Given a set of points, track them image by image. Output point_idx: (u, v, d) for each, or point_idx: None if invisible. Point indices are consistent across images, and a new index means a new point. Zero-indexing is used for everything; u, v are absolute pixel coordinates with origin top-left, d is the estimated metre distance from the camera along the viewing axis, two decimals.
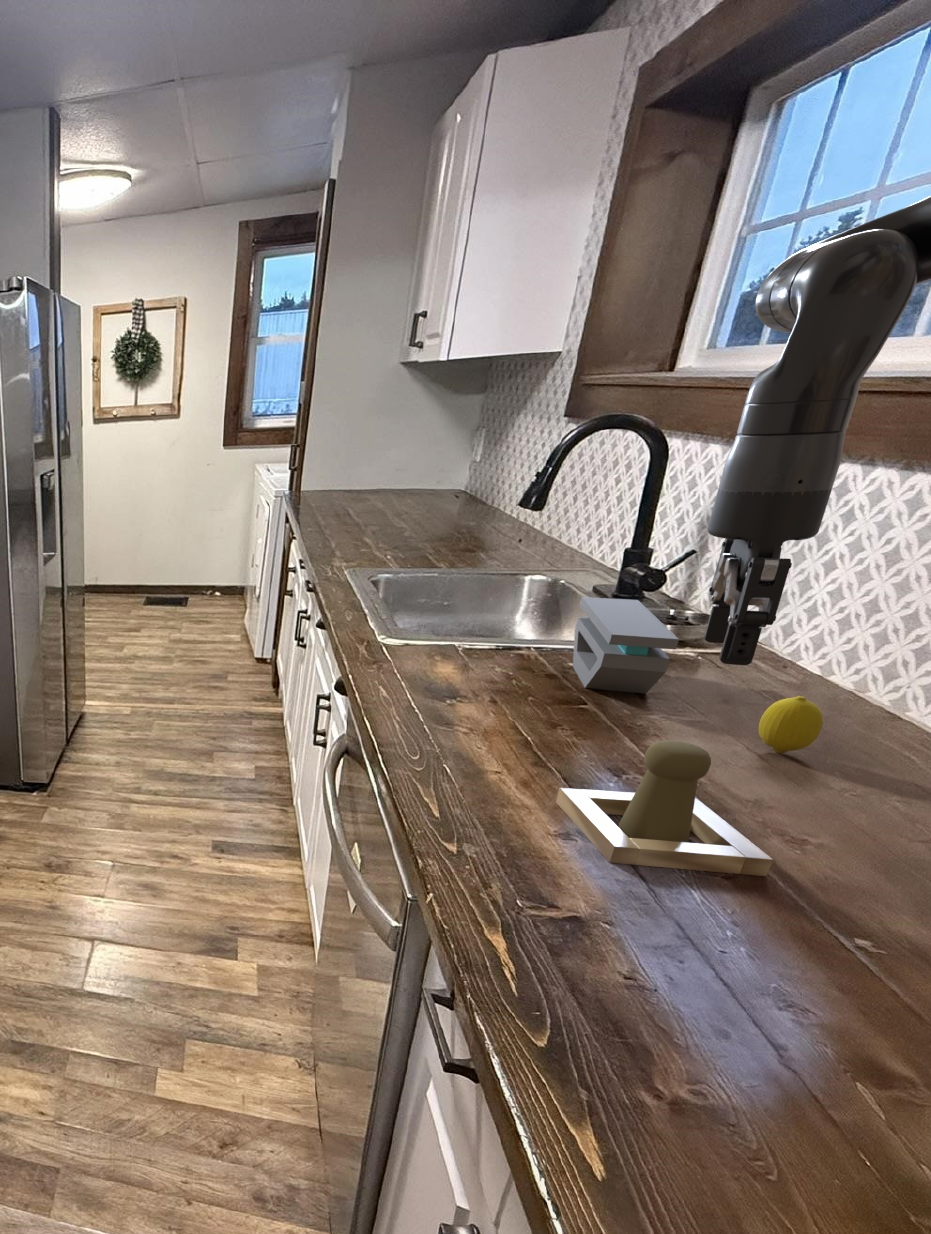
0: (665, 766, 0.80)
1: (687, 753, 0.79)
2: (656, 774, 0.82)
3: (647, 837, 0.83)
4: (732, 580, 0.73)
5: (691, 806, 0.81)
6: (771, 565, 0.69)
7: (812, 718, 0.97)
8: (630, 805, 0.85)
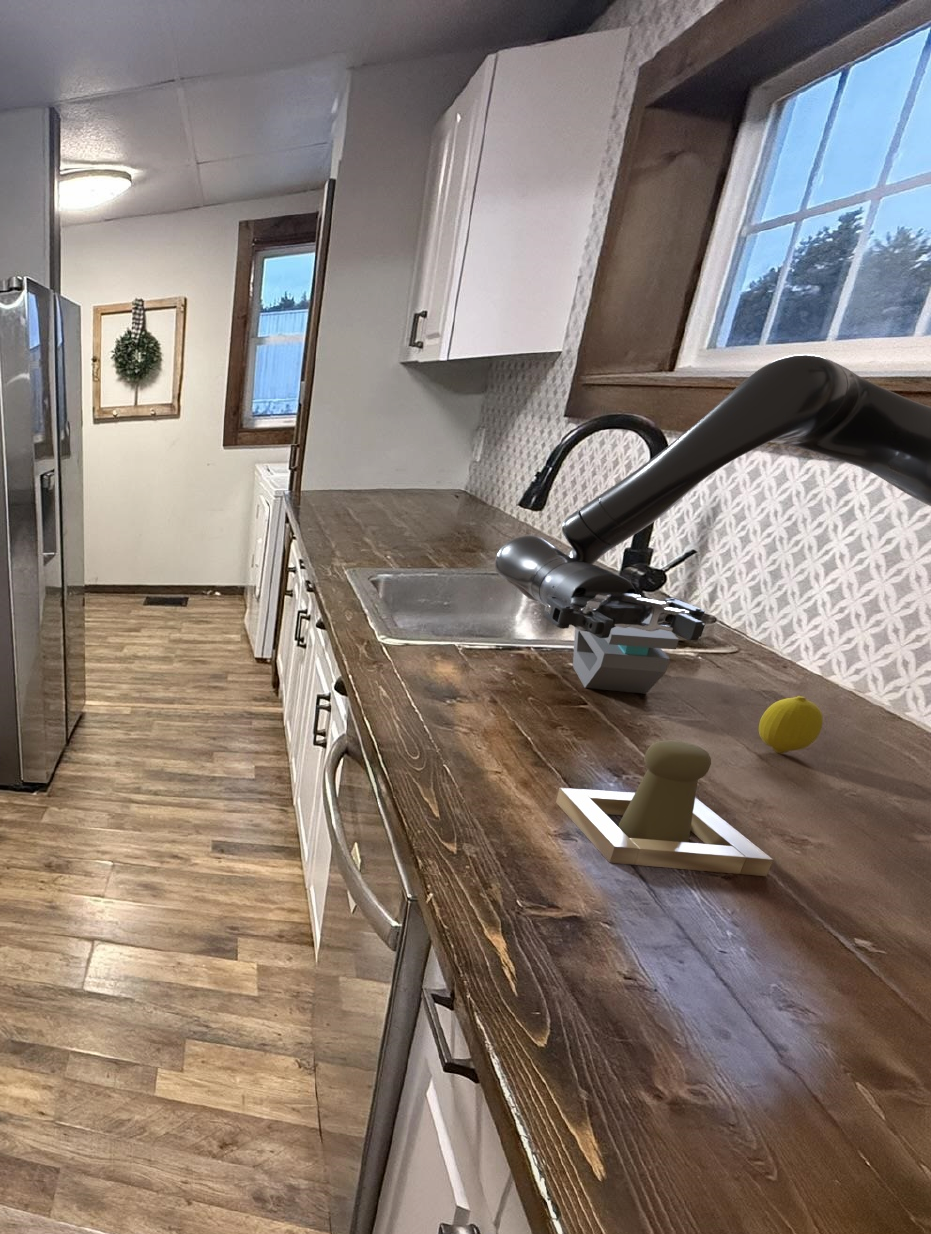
0: (665, 766, 0.80)
1: (687, 753, 0.79)
2: (656, 774, 0.82)
3: (647, 837, 0.83)
4: None
5: (691, 806, 0.81)
6: (545, 606, 0.97)
7: (812, 718, 0.97)
8: (630, 805, 0.85)
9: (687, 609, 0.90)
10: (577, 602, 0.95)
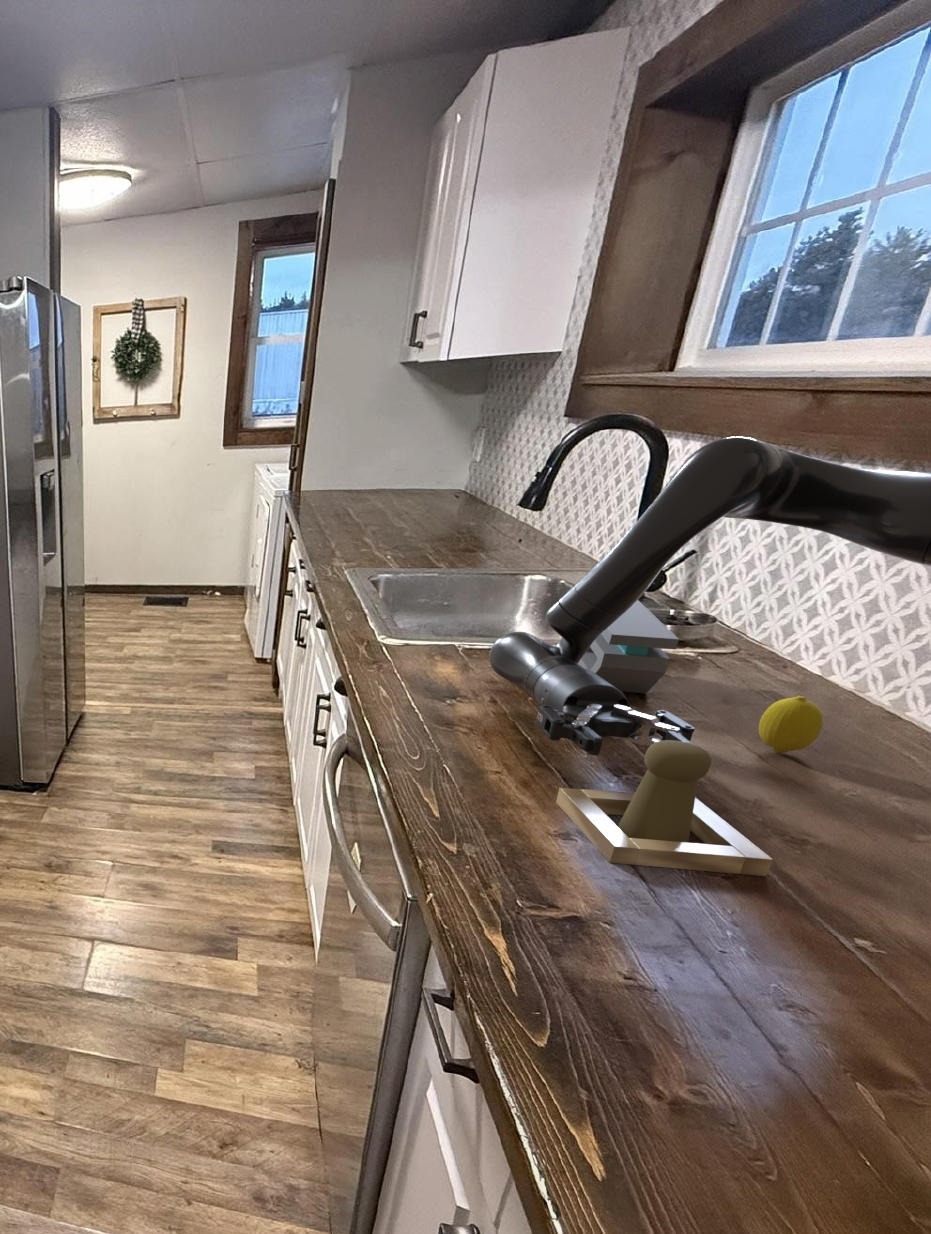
0: (665, 766, 0.80)
1: (687, 753, 0.79)
2: (656, 774, 0.82)
3: (647, 837, 0.83)
4: None
5: (691, 806, 0.81)
6: None
7: (812, 718, 0.97)
8: (630, 805, 0.85)
9: (678, 725, 0.91)
10: (569, 712, 0.96)
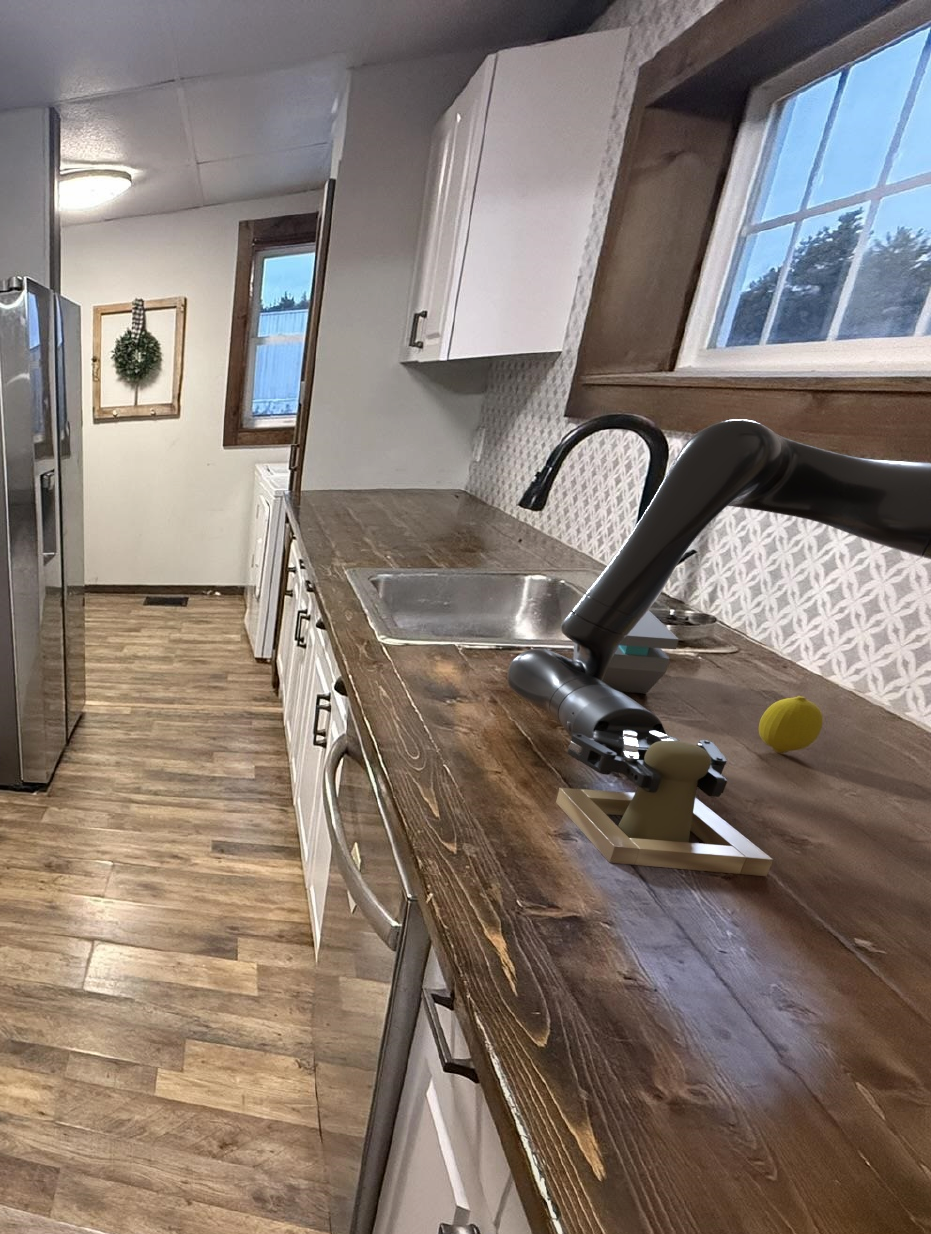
0: (665, 766, 0.80)
1: (687, 753, 0.79)
2: None
3: (647, 837, 0.83)
4: None
5: (691, 806, 0.81)
6: (570, 744, 0.90)
7: (812, 718, 0.97)
8: (630, 805, 0.85)
9: None
10: (600, 738, 0.89)
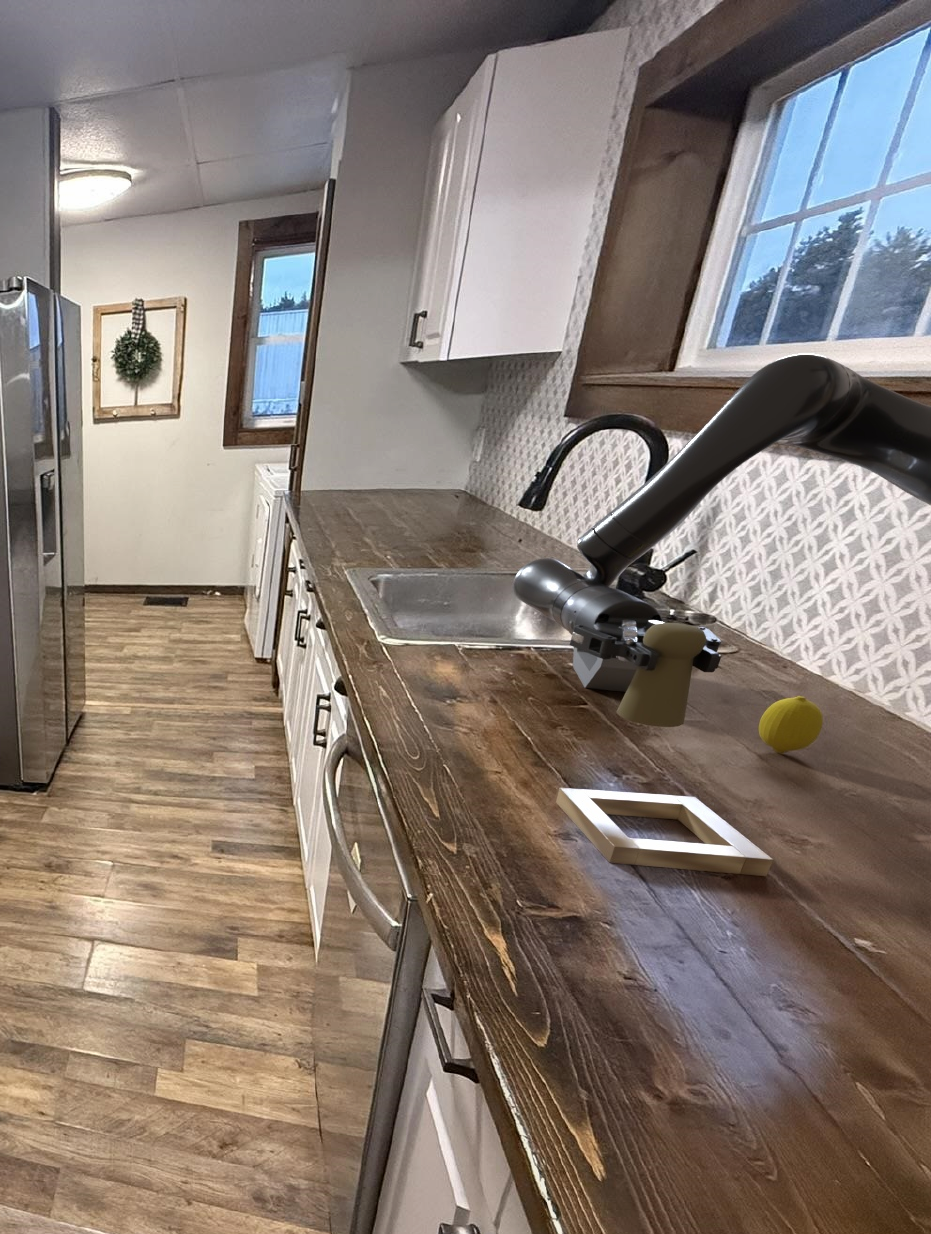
0: (662, 645, 0.85)
1: (683, 631, 0.84)
2: None
3: (645, 715, 0.87)
4: None
5: (687, 683, 0.86)
6: (573, 635, 0.94)
7: (812, 718, 0.97)
8: (629, 687, 0.89)
9: None
10: (601, 629, 0.93)
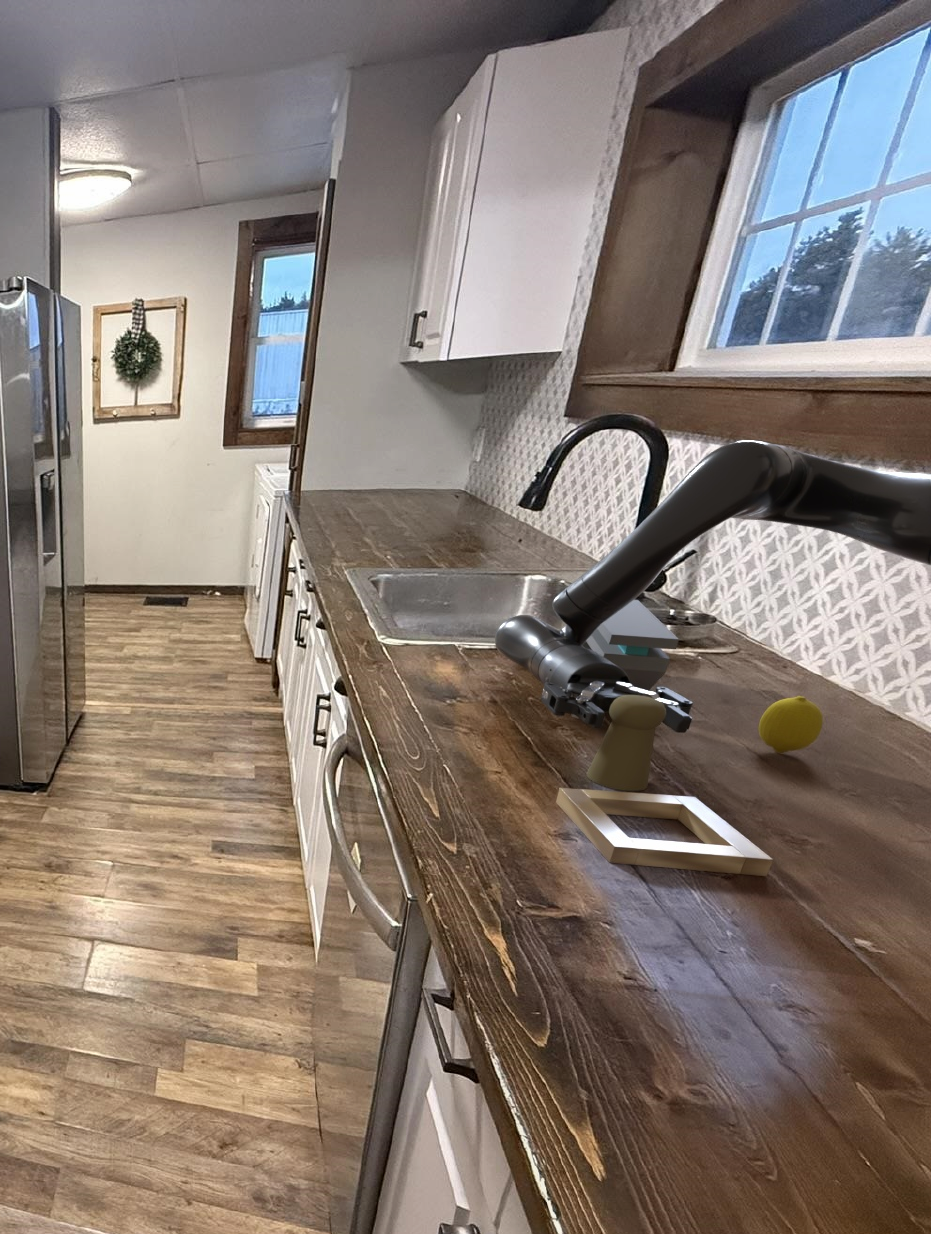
0: (626, 716, 0.92)
1: (645, 705, 0.91)
2: (618, 724, 0.94)
3: (611, 780, 0.95)
4: None
5: (649, 751, 0.93)
6: (543, 692, 1.03)
7: (812, 718, 0.97)
8: (597, 753, 0.97)
9: (676, 700, 0.95)
10: (573, 689, 1.01)
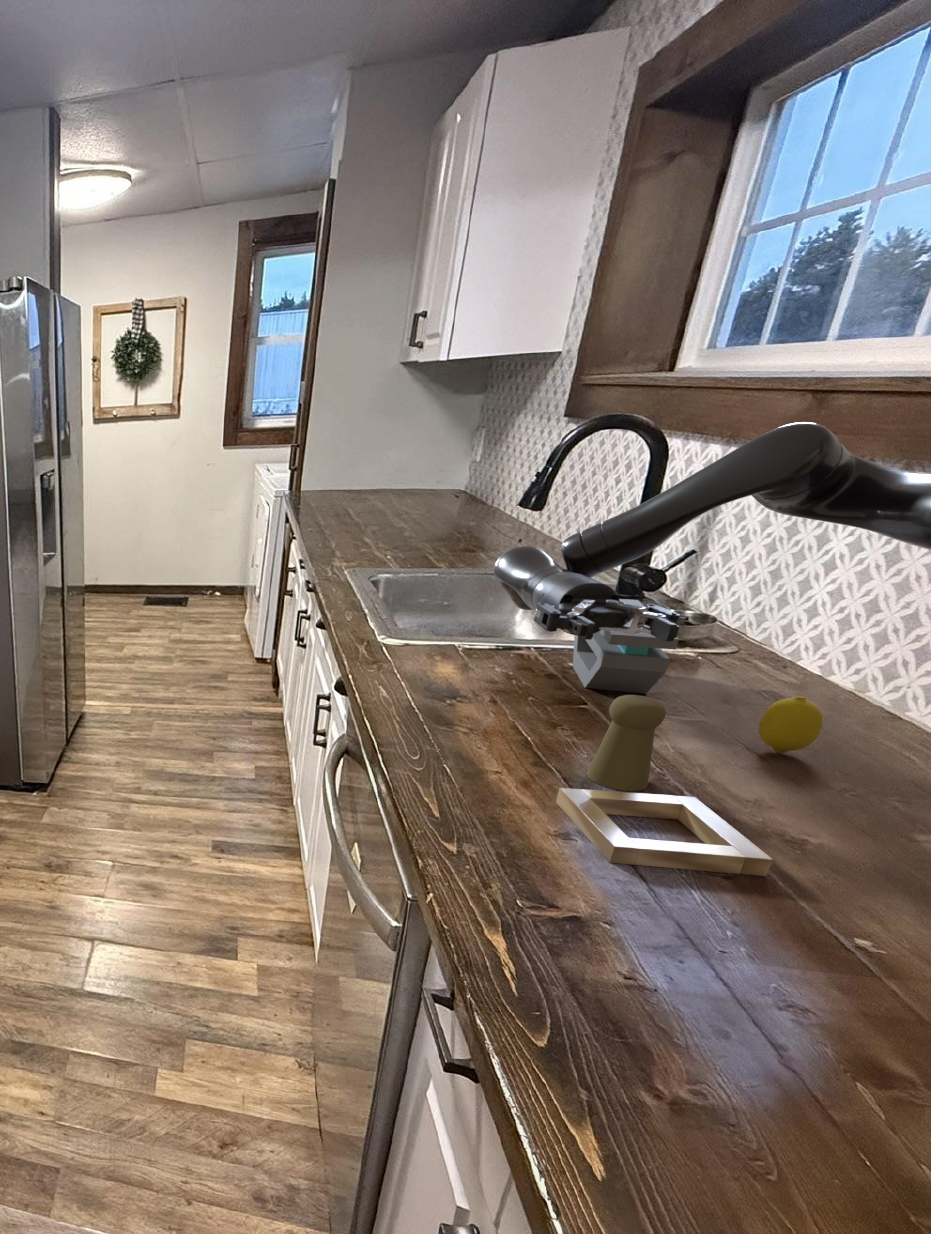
0: (626, 716, 0.92)
1: (645, 705, 0.91)
2: (618, 724, 0.94)
3: (611, 780, 0.95)
4: None
5: (649, 751, 0.93)
6: (535, 612, 1.06)
7: (812, 718, 0.97)
8: (597, 753, 0.97)
9: (664, 613, 0.99)
10: (565, 607, 1.04)
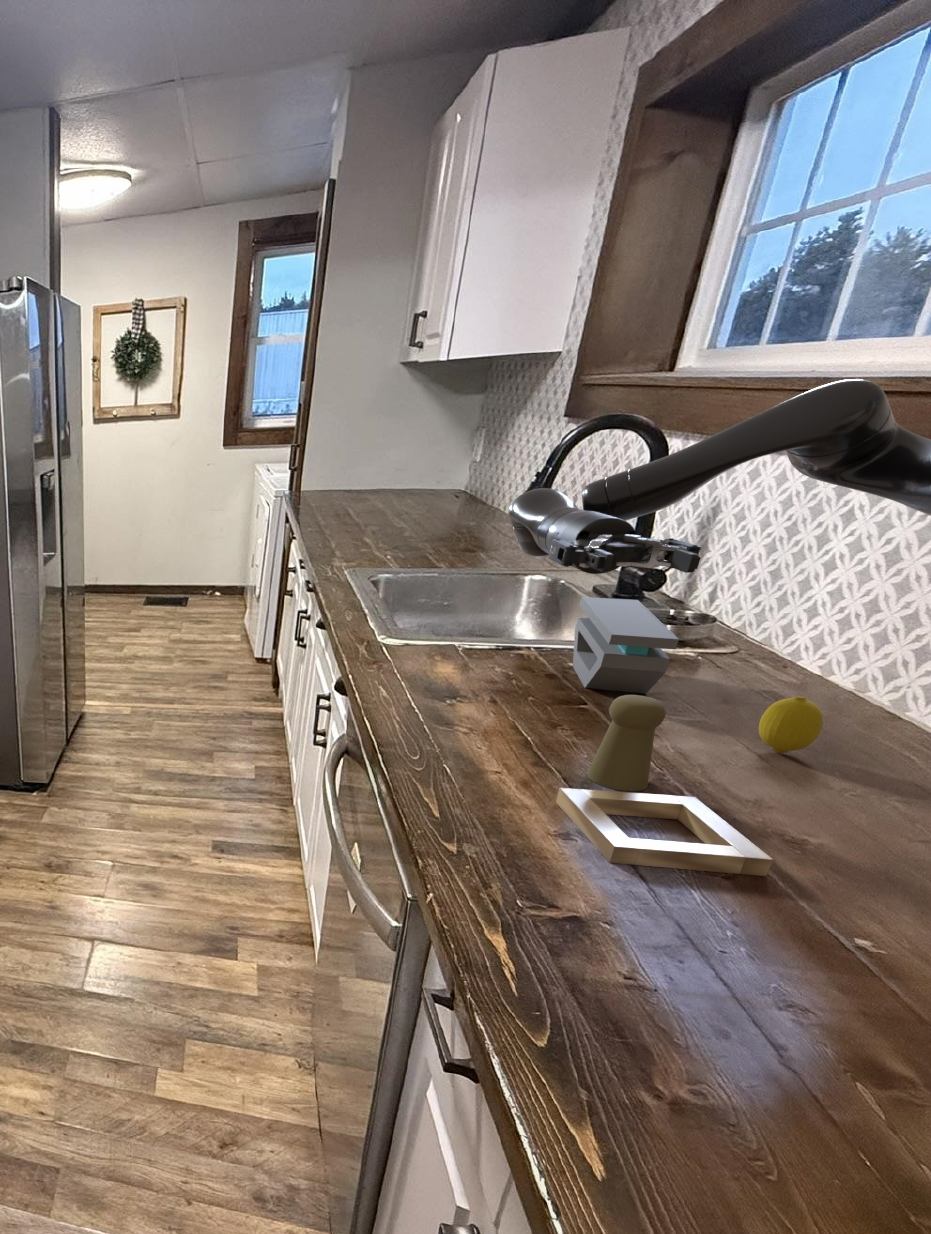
0: (626, 716, 0.92)
1: (645, 705, 0.91)
2: (619, 724, 0.94)
3: (611, 780, 0.95)
4: None
5: (649, 751, 0.93)
6: (550, 548, 1.03)
7: (812, 718, 0.97)
8: (597, 753, 0.97)
9: (685, 546, 0.95)
10: (581, 543, 1.01)
